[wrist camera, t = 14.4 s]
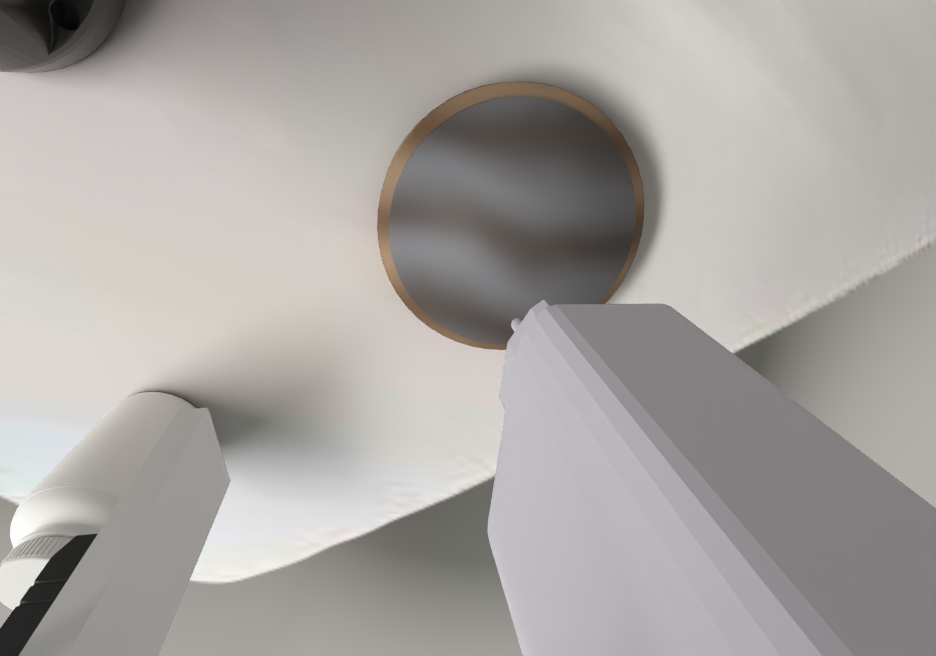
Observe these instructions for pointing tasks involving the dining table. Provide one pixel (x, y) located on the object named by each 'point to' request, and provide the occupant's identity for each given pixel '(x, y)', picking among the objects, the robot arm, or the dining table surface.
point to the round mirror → (508, 210)
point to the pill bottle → (84, 487)
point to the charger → (691, 504)
